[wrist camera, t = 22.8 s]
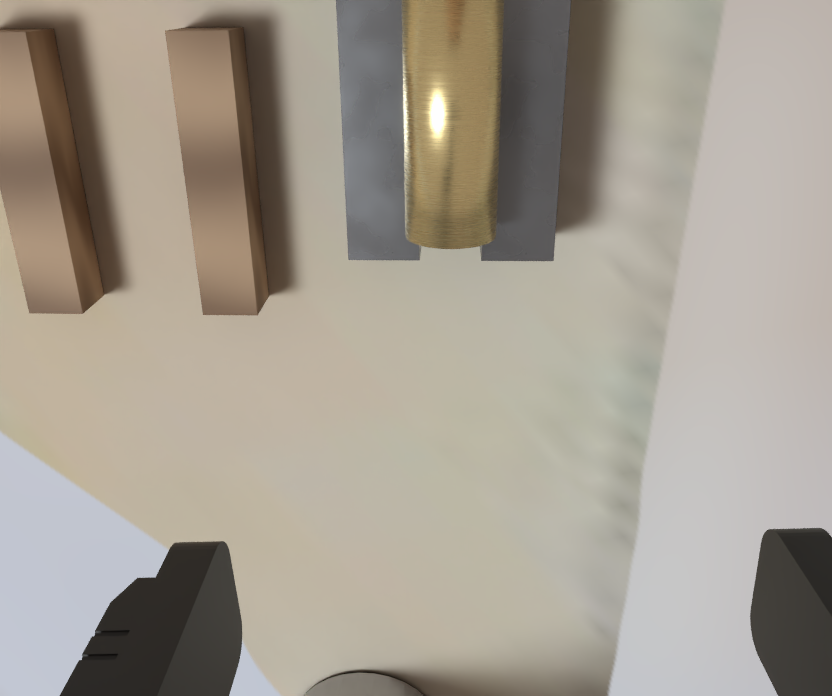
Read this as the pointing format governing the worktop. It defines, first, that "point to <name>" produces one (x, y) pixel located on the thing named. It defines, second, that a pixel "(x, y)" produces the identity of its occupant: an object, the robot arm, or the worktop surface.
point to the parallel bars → (63, 187)
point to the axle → (451, 120)
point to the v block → (518, 142)
